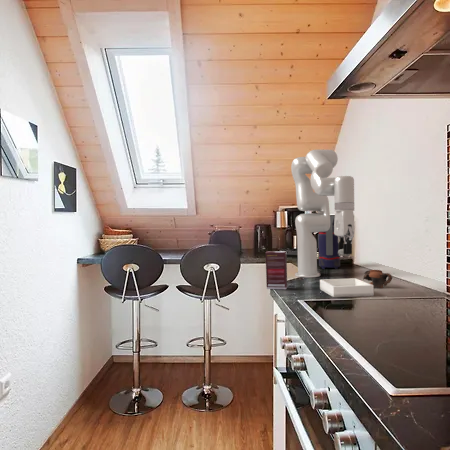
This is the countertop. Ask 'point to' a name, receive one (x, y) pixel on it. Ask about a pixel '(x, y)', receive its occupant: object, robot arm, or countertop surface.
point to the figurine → (342, 253)
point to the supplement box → (276, 270)
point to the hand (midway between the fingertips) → (345, 252)
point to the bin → (346, 287)
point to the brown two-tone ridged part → (377, 278)
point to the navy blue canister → (329, 247)
